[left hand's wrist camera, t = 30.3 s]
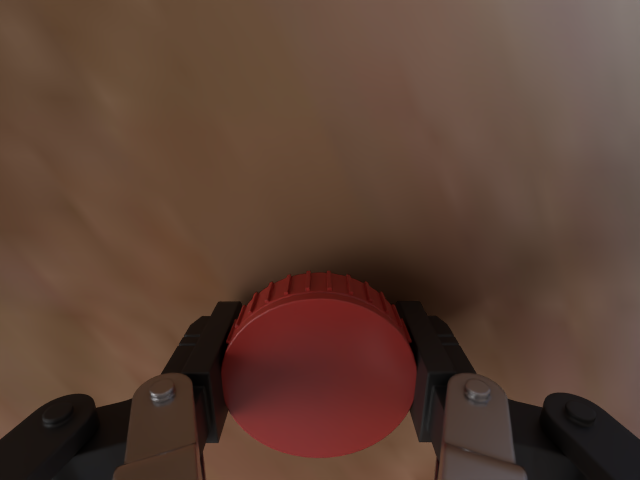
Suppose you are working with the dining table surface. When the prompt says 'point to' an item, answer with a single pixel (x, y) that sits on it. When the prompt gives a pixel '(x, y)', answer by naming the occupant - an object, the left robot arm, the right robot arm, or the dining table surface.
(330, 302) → the lid
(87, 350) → the dining table surface
